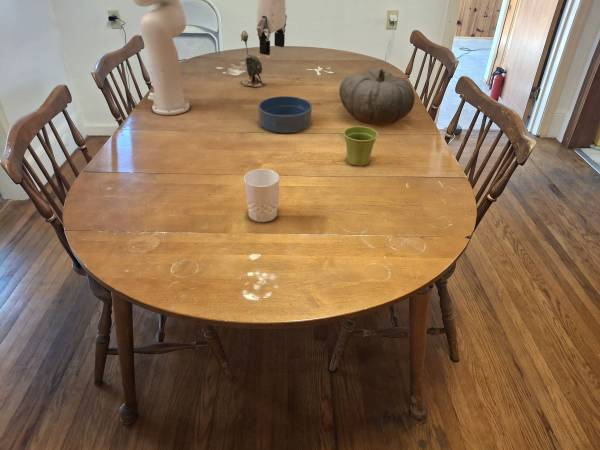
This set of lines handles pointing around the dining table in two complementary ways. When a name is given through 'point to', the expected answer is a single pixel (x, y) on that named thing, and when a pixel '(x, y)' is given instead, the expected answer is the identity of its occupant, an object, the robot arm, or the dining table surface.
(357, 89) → the gourd
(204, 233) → the dining table surface
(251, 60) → the grey tall irregular piece
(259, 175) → the white cup
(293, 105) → the bowl
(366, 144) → the plant pot
